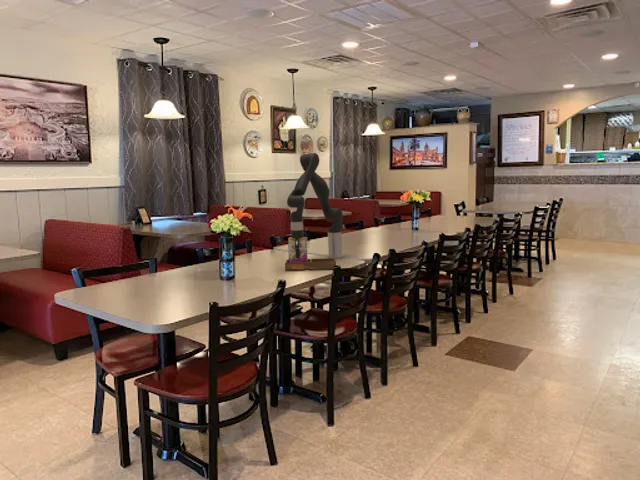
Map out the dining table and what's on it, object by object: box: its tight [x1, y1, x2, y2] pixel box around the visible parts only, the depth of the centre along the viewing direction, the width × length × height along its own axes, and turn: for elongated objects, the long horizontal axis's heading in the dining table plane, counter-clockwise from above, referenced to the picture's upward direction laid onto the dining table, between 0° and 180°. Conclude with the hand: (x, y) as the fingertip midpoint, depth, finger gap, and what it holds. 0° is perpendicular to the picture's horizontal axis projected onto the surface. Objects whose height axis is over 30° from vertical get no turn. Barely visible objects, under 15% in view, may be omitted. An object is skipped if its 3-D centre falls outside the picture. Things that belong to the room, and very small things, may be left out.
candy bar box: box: [287, 236, 309, 263], centre depth 303 cm, size 11×5×16 cm, turn 84°
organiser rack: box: [284, 257, 337, 272], centre depth 304 cm, size 11×30×5 cm, turn 89°
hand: (298, 256), depth 303 cm, fingers closed on candy bar box, 5 cm apart
